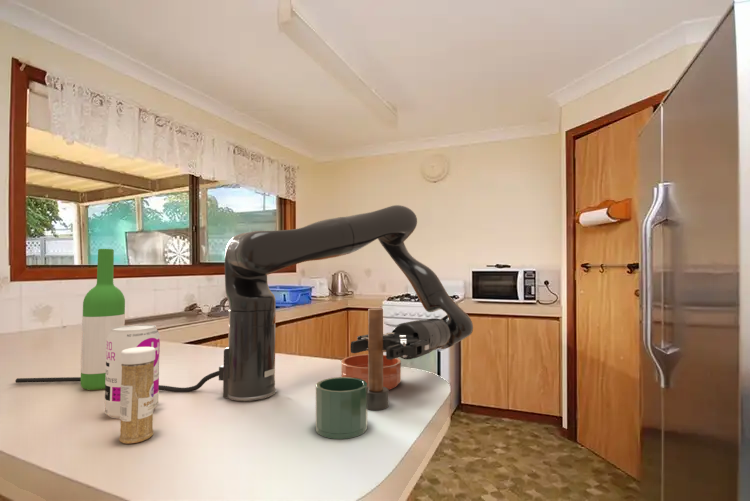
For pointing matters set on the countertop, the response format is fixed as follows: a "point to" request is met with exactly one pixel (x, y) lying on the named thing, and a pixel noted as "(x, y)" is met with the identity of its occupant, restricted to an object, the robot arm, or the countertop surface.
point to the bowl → (359, 369)
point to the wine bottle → (100, 322)
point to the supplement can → (115, 345)
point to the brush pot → (341, 407)
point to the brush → (376, 362)
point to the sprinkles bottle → (137, 394)
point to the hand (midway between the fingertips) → (369, 350)
